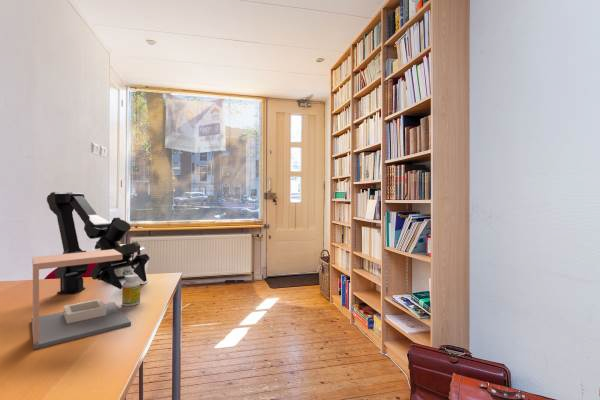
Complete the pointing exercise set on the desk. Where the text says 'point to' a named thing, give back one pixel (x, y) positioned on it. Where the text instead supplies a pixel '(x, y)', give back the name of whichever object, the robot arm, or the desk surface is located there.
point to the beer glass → (145, 251)
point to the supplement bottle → (131, 290)
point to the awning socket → (75, 316)
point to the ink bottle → (123, 272)
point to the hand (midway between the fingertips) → (133, 284)
